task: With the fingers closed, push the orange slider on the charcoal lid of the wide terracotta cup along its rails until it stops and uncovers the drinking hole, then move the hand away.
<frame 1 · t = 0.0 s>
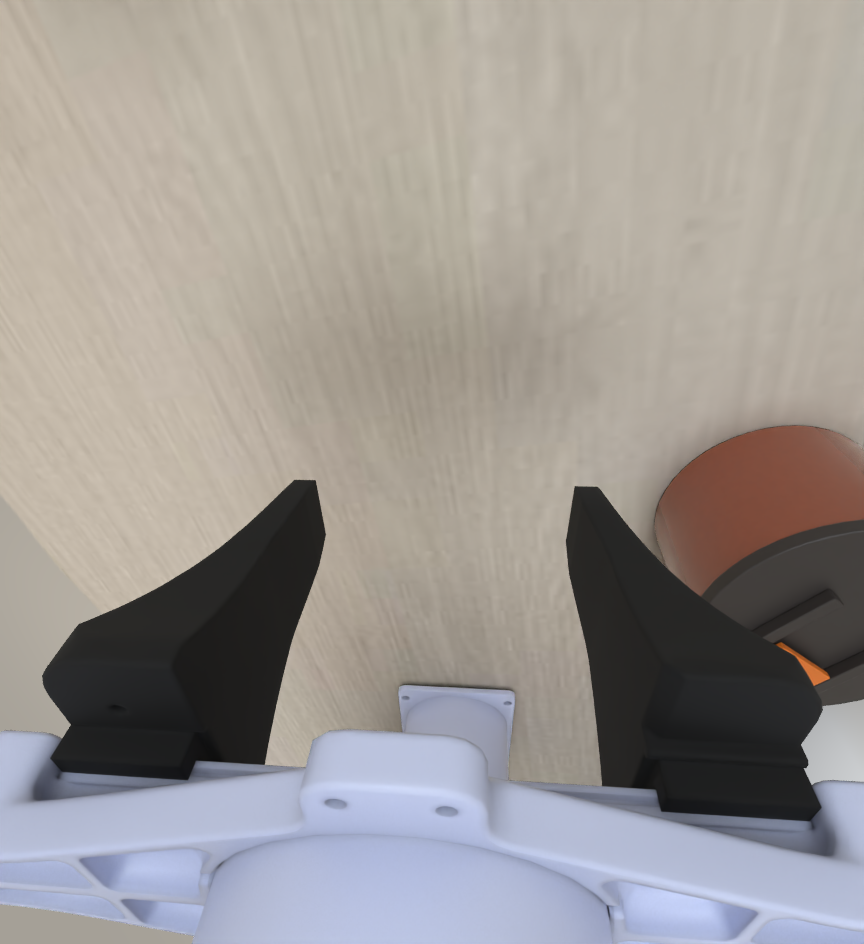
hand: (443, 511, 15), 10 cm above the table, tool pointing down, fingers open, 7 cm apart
slider: (783, 693, 22), point 9 cm above the table, slide at 0.0 cm
lidded cup: (760, 511, 27), on the table
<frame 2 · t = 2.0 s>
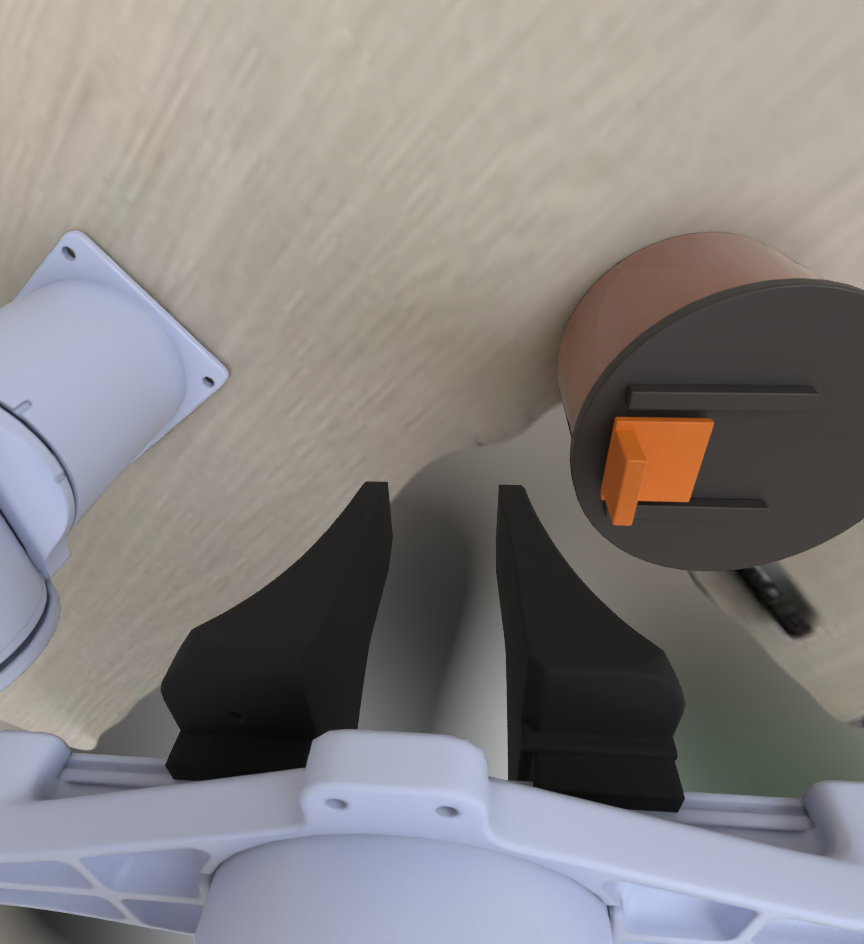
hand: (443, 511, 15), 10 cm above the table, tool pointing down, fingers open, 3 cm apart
slider: (660, 476, 16), point 8 cm above the table, slide at 0.0 cm
lidded cup: (678, 357, 23), on the table
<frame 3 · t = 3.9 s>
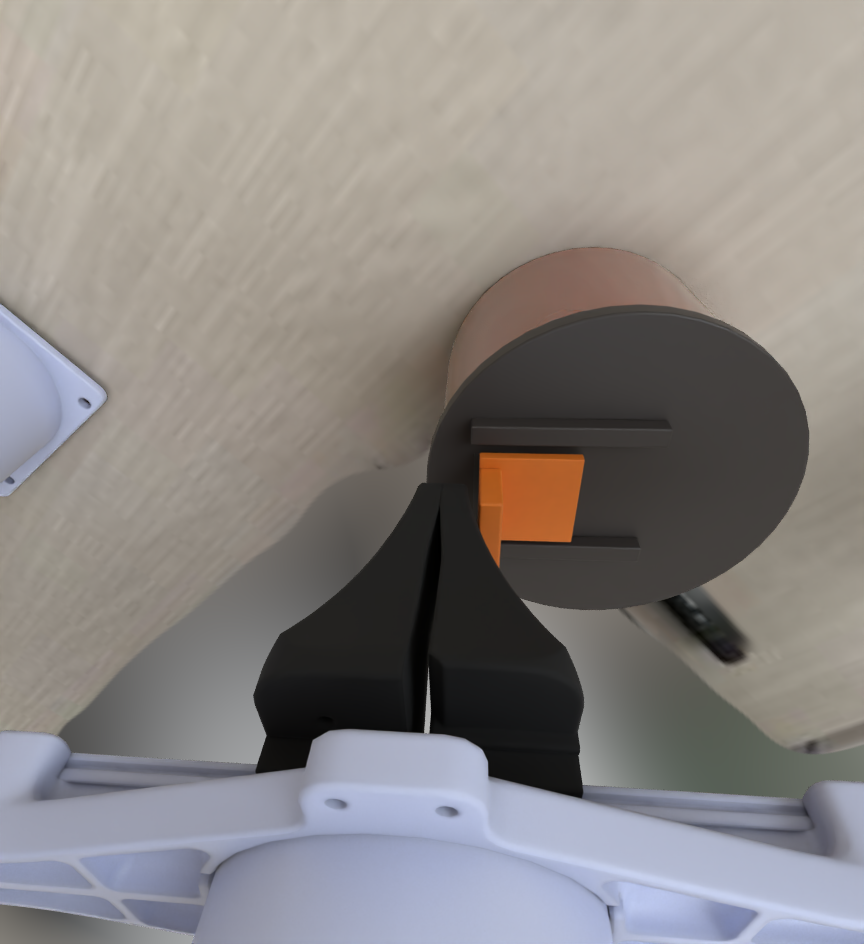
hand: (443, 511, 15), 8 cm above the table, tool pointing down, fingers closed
slider: (529, 517, 15), point 8 cm above the table, slide at 0.6 cm, touching gripper
lidded cup: (573, 378, 22), on the table
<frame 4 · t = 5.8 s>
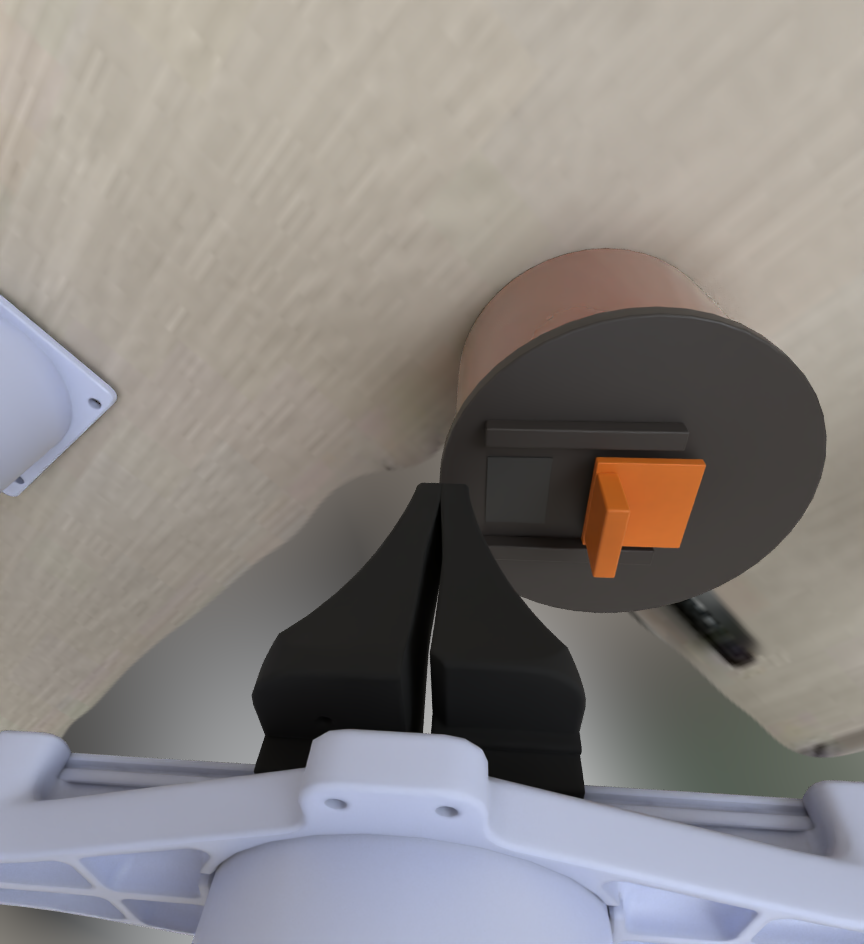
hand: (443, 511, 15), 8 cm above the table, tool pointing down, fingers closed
slider: (646, 523, 15), point 9 cm above the table, slide at 3.3 cm
lidded cup: (585, 380, 22), on the table
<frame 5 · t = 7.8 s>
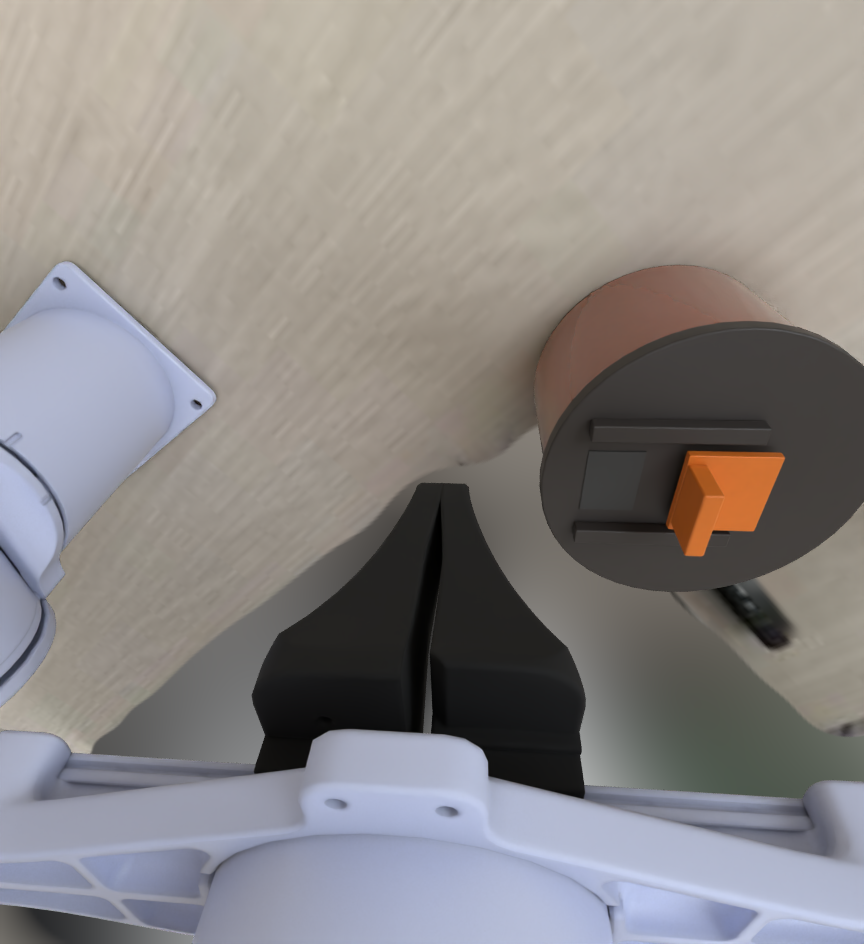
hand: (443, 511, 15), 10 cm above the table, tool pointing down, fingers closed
slider: (730, 508, 17), point 9 cm above the table, slide at 3.3 cm
lidded cup: (650, 382, 24), on the table
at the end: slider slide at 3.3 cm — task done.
